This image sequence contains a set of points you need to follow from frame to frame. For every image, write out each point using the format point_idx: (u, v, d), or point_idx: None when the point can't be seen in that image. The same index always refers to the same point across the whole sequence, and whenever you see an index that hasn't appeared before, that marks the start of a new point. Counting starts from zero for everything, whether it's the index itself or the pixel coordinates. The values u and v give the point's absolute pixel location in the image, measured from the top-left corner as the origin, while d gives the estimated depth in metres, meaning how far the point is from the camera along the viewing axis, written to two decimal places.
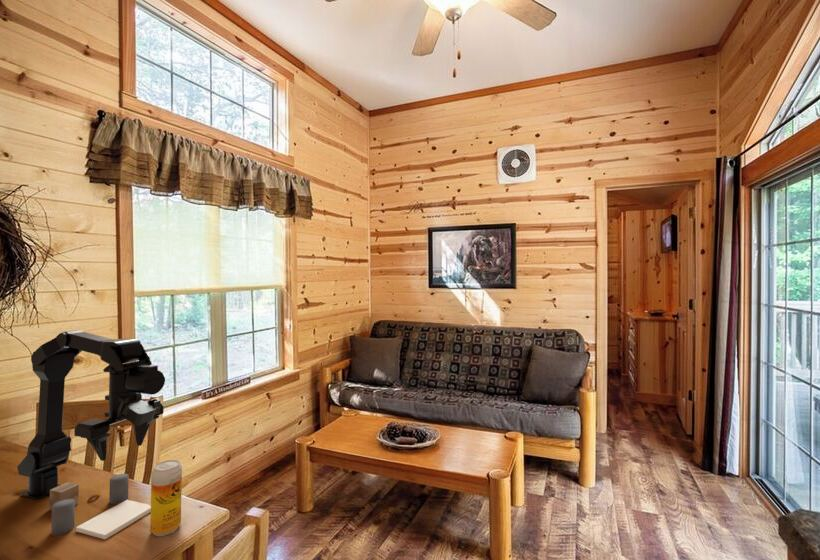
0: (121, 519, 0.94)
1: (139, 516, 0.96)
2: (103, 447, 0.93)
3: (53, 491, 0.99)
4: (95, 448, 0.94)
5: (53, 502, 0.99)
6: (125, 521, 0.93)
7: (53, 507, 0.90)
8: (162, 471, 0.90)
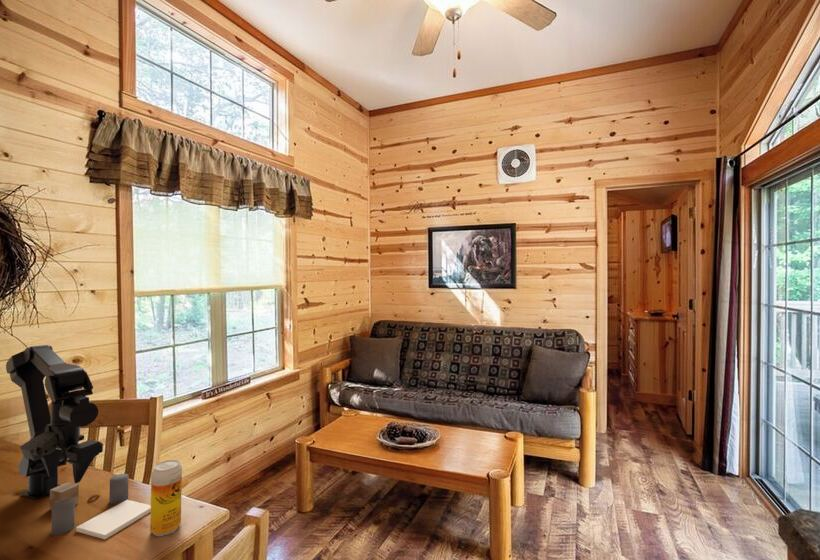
0: (121, 519, 0.94)
1: (139, 516, 0.96)
2: (44, 464, 1.01)
3: (53, 491, 0.99)
4: None
5: (53, 502, 0.99)
6: (125, 521, 0.93)
7: (53, 507, 0.90)
8: (162, 471, 0.90)
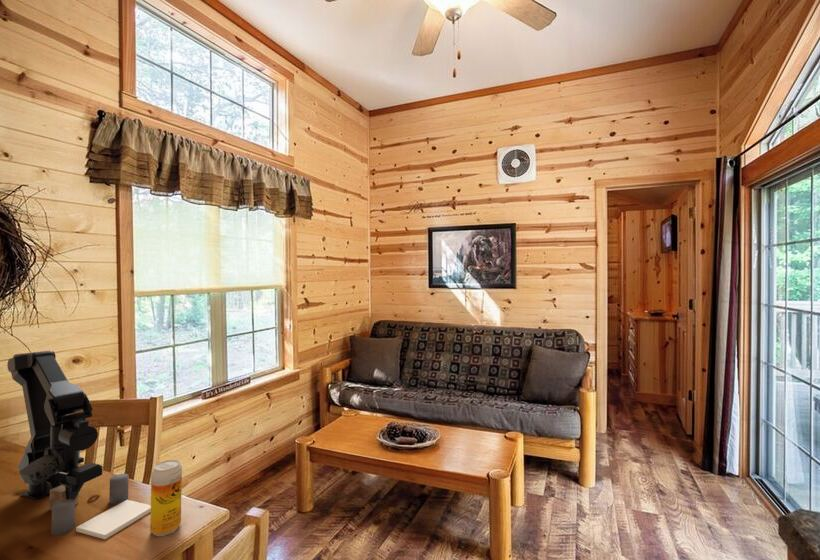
0: (121, 519, 0.94)
1: (139, 516, 0.96)
2: (50, 488, 1.00)
3: (53, 491, 0.99)
4: None
5: (53, 502, 0.99)
6: (125, 521, 0.93)
7: (53, 507, 0.90)
8: (162, 471, 0.90)
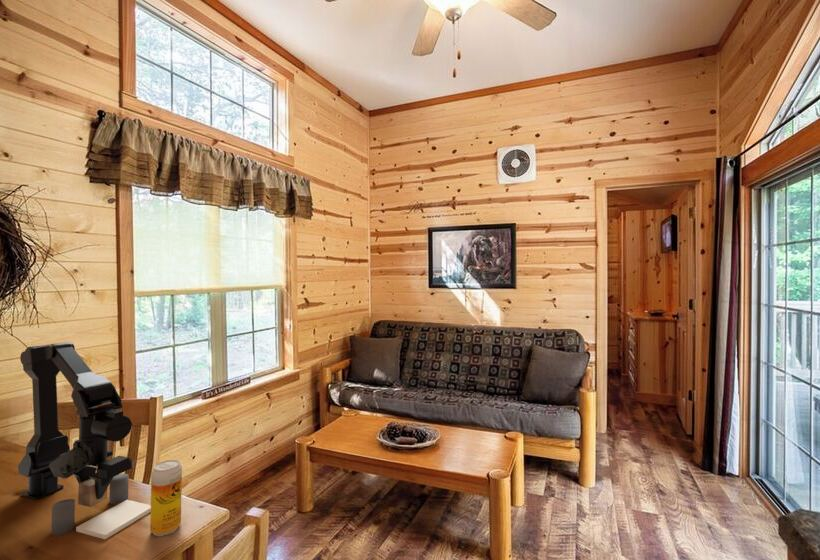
0: (121, 519, 0.94)
1: (139, 516, 0.96)
2: (79, 482, 0.97)
3: (82, 485, 0.96)
4: None
5: (82, 496, 0.96)
6: (125, 521, 0.93)
7: (53, 507, 0.90)
8: (162, 471, 0.90)
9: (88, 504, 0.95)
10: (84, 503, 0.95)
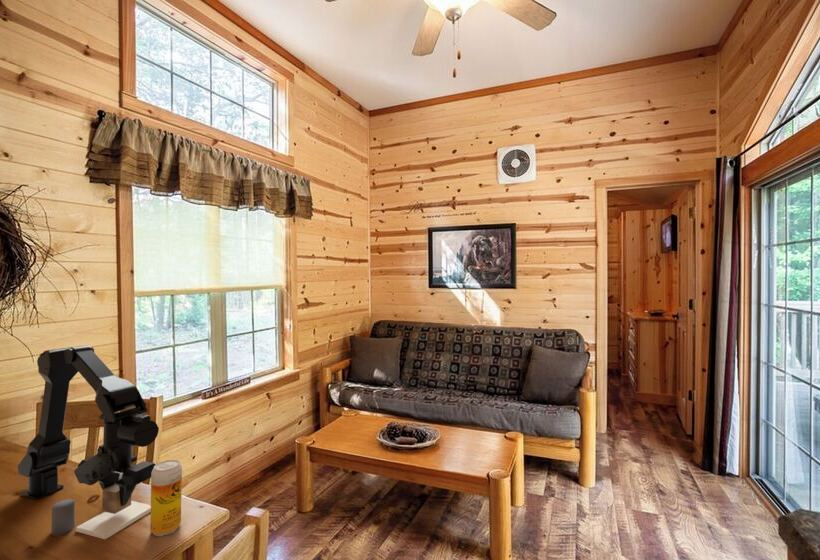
0: (121, 519, 0.94)
1: (139, 516, 0.96)
2: (103, 488, 0.95)
3: (106, 491, 0.94)
4: None
5: (106, 503, 0.94)
6: (125, 521, 0.93)
7: (53, 507, 0.90)
8: (162, 471, 0.90)
9: (112, 511, 0.93)
10: (109, 510, 0.93)
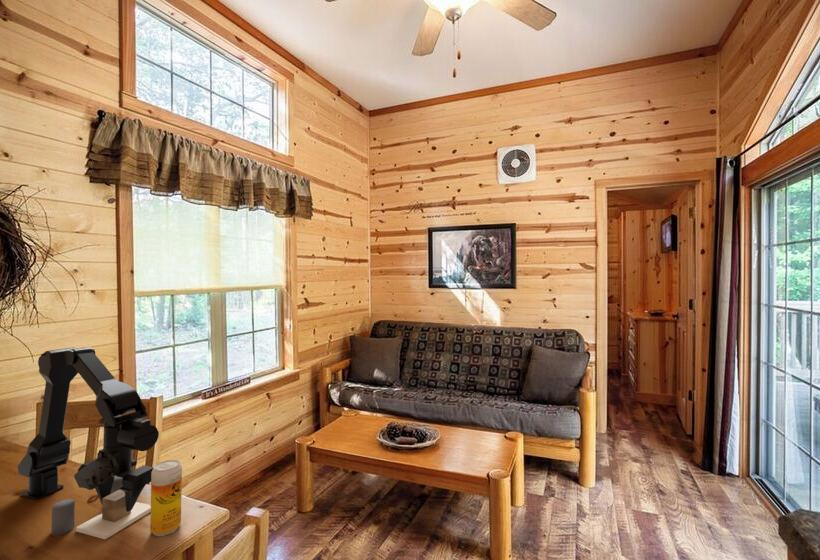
0: (121, 519, 0.94)
1: (139, 516, 0.96)
2: (97, 491, 0.95)
3: (106, 499, 0.94)
4: None
5: (106, 511, 0.94)
6: (125, 521, 0.93)
7: (53, 507, 0.90)
8: (162, 471, 0.90)
9: (112, 519, 0.93)
10: (109, 518, 0.93)
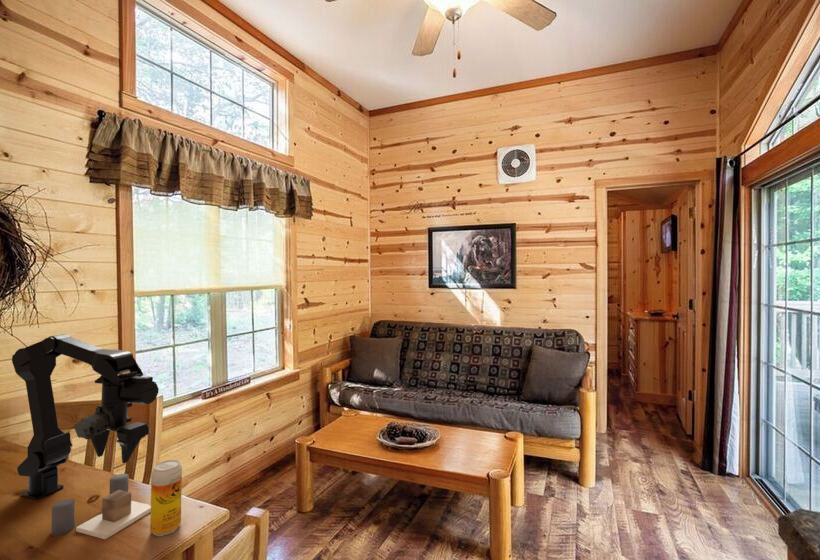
0: (121, 519, 0.94)
1: (139, 516, 0.96)
2: (93, 443, 1.05)
3: (106, 499, 0.94)
4: None
5: (106, 511, 0.94)
6: (125, 521, 0.93)
7: (53, 507, 0.90)
8: (162, 471, 0.90)
9: (112, 519, 0.93)
10: (109, 518, 0.93)
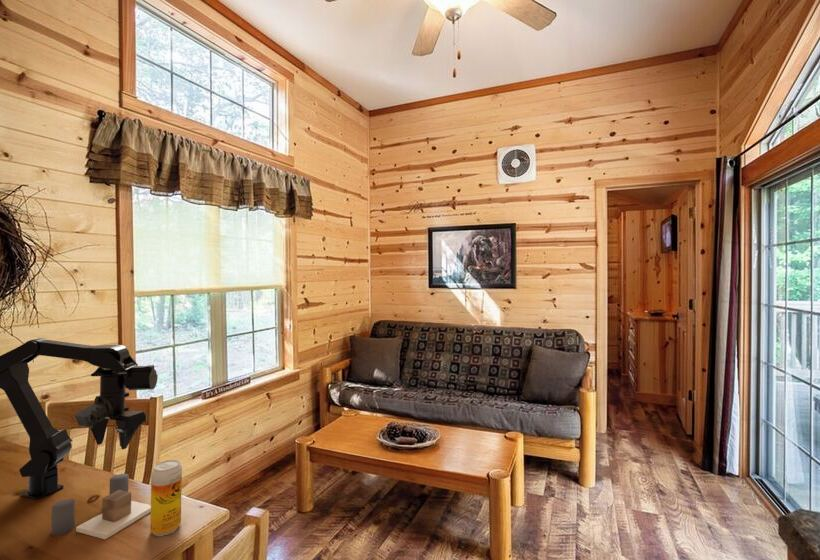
0: (121, 519, 0.94)
1: (139, 516, 0.96)
2: (93, 432, 1.11)
3: (106, 499, 0.94)
4: None
5: (106, 511, 0.94)
6: (125, 521, 0.93)
7: (53, 507, 0.90)
8: (162, 471, 0.90)
9: (112, 519, 0.93)
10: (109, 518, 0.93)
